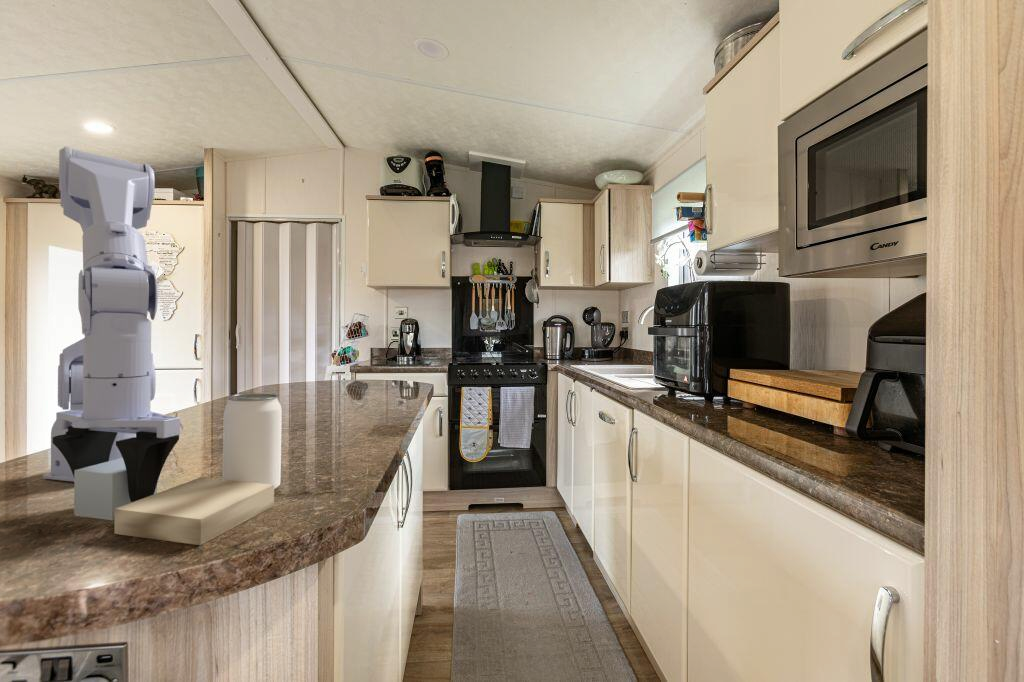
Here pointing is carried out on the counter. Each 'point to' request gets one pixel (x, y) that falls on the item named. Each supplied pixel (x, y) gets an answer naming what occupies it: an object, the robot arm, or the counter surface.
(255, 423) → the can
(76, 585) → the counter surface
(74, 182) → the robot arm
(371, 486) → the counter surface
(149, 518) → the base
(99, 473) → the block
